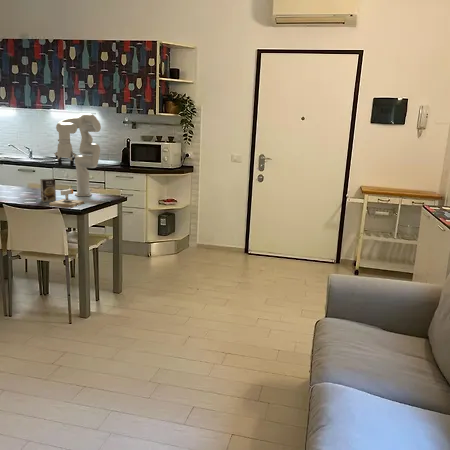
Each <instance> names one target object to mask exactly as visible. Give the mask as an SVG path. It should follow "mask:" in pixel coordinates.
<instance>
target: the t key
mask: <svg viewBox="0 0 450 450" xmlns="http://www.w3.org/2000/svg"><path fill="white" fill-rule="evenodd" d="M73 194H74V189H73V188H68V189H62V190H60V196H65V198H64V199H65V200H64V201H66V202H67V201H70V200H71V198H70V199H69V195H73Z"/></svg>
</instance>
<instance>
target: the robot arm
mask: <svg viewBox="0 0 450 450" xmlns="http://www.w3.org/2000/svg"><path fill="white" fill-rule="evenodd" d="M101 128H102V126H101V123H100V121H99V120H98V118H97V117H96V116H95V115H94V114H92V113H79V114H77V115H75V116H74V117H71V118H66V119H62V120H60V121H59V122H57V124H56V126H55V129H56V132H57V133H58V139H57V142H58V143H57V151H56V152H54V156H55V158H56V159H57V165H58V166H62V165H63V162H62V161H63V160H62V158H65V159H69V160H70V161H69V163H70V167H74V165H75V170H76V171H75V172H76V193H74V194H75V195H74V196H75V197H91V196H92V193H91V192H92V191H93V189H92V188H90V172H89V169H95V168H97V167H98V165H99V160H100V155H101V146H100V144H98V143H93V137H92V135H91V134H90V133H98V132H100V131H101ZM78 130H79V133H80V136H81V141H80V145H79V149H78V151H79V152H78V153H80V154H79V155H78V154H76V153H75V152H74V151H73V146H72V143H71V135H72V134H76V133H77V131H78Z"/></svg>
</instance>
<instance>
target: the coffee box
mask: <svg viewBox="0 0 450 450" xmlns="http://www.w3.org/2000/svg"><path fill="white" fill-rule="evenodd" d="M56 190H57V189H56V179H54V178H41V179H40V201H41V202H43V203H50V202H52V201H53V202H54V201H57V198H56V197H57V194H56V192H57V191H56Z"/></svg>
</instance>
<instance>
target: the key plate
mask: <svg viewBox="0 0 450 450" xmlns="http://www.w3.org/2000/svg"><path fill="white" fill-rule="evenodd" d="M64 200H65V198H62V199H58V200H56V201H53V202H48V203H49V206H51V207H59V206H61V207H60V208H69V207H71V208H74V206H75V207H78V206H81V205H84V204H85V200H81V199H80V200H79V199H70V201H67V202H66V201H64ZM77 205H78V206H77Z"/></svg>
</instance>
